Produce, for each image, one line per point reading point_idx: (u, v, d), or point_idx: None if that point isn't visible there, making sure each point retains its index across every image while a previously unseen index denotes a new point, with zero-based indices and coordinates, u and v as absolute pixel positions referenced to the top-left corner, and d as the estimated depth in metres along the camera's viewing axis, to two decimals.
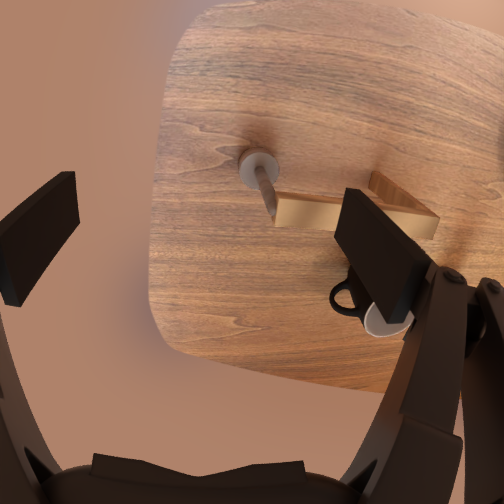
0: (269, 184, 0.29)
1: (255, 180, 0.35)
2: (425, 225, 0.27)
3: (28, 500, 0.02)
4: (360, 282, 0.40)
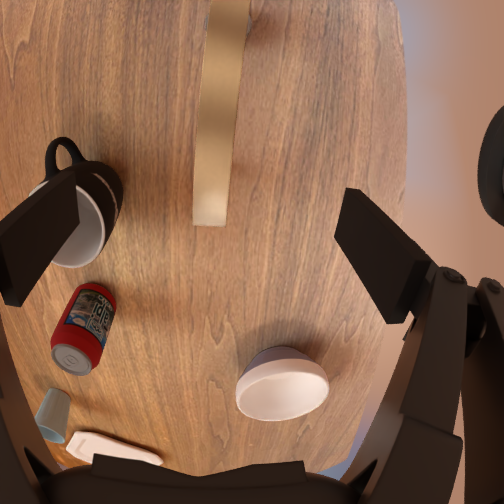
0: None
1: None
2: (213, 205, 0.21)
3: (28, 500, 0.02)
4: (89, 169, 0.27)
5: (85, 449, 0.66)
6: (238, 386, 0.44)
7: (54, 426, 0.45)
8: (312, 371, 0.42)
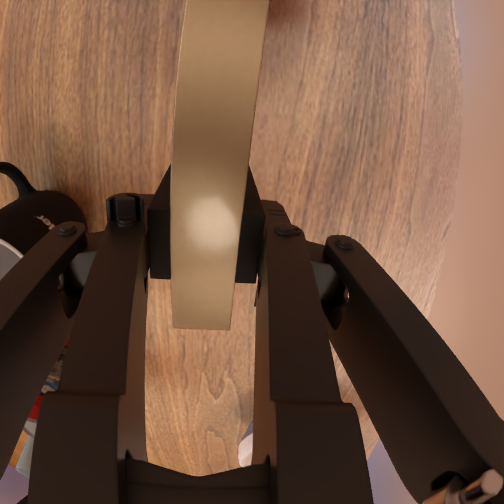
0: None
1: None
2: (207, 301, 0.12)
3: None
4: (32, 209, 0.17)
5: None
6: (241, 447, 0.35)
7: None
8: None
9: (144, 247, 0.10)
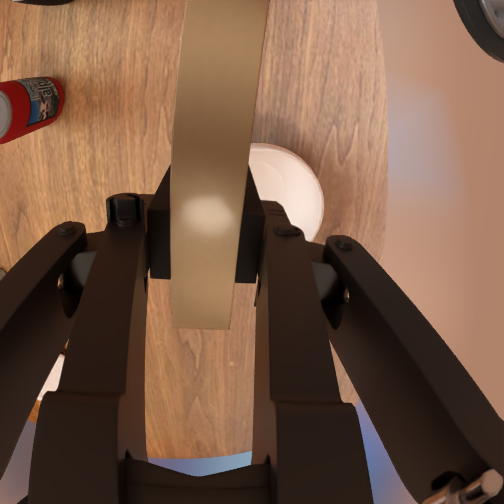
0: None
1: None
2: (207, 300, 0.12)
3: None
4: None
5: None
6: None
7: None
8: (295, 155, 0.31)
9: (144, 247, 0.10)
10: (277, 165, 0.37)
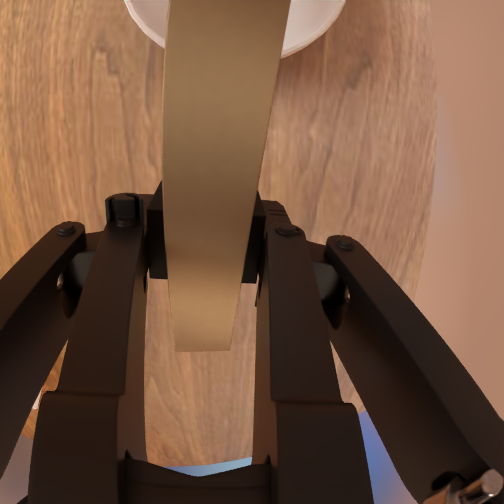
0: None
1: None
2: (209, 333, 0.12)
3: None
4: None
5: None
6: None
7: None
8: None
9: (143, 247, 0.10)
10: None
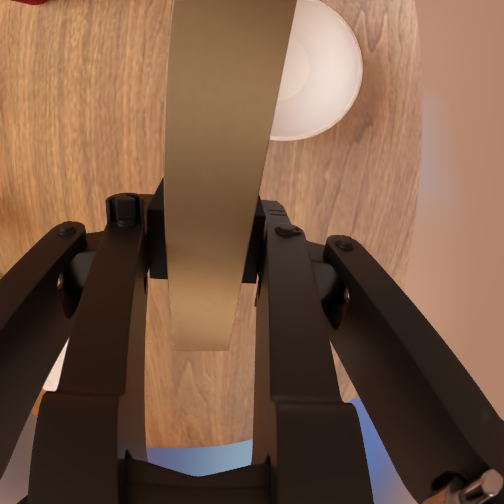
0: None
1: None
2: (208, 333, 0.12)
3: None
4: None
5: None
6: None
7: None
8: None
9: (144, 247, 0.10)
10: (302, 36, 0.27)
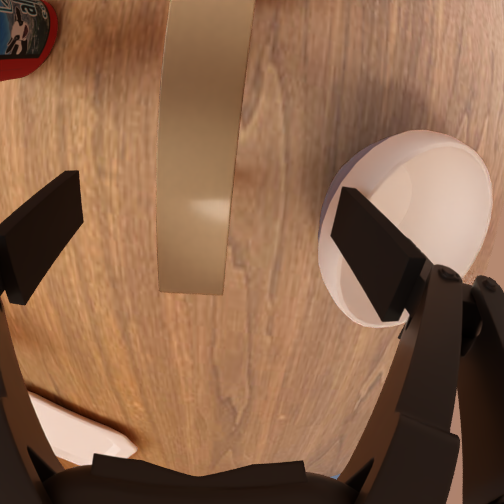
0: None
1: None
2: (197, 258, 0.11)
3: (31, 500, 0.02)
4: None
5: None
6: None
7: None
8: None
9: None
10: (417, 166, 0.22)
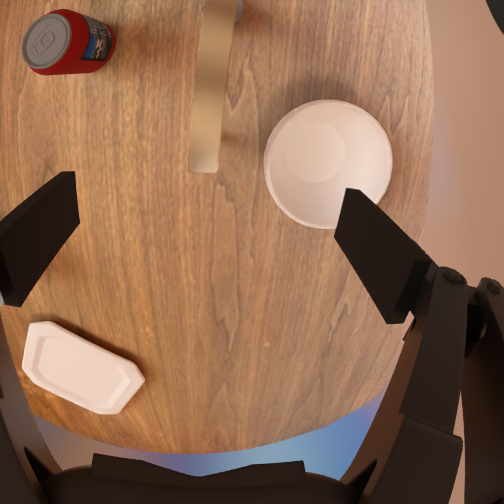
0: None
1: None
2: (207, 153, 0.24)
3: (28, 500, 0.02)
4: None
5: (44, 364, 0.53)
6: (269, 139, 0.31)
7: None
8: (370, 114, 0.29)
9: None
10: (342, 128, 0.35)
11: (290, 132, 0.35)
